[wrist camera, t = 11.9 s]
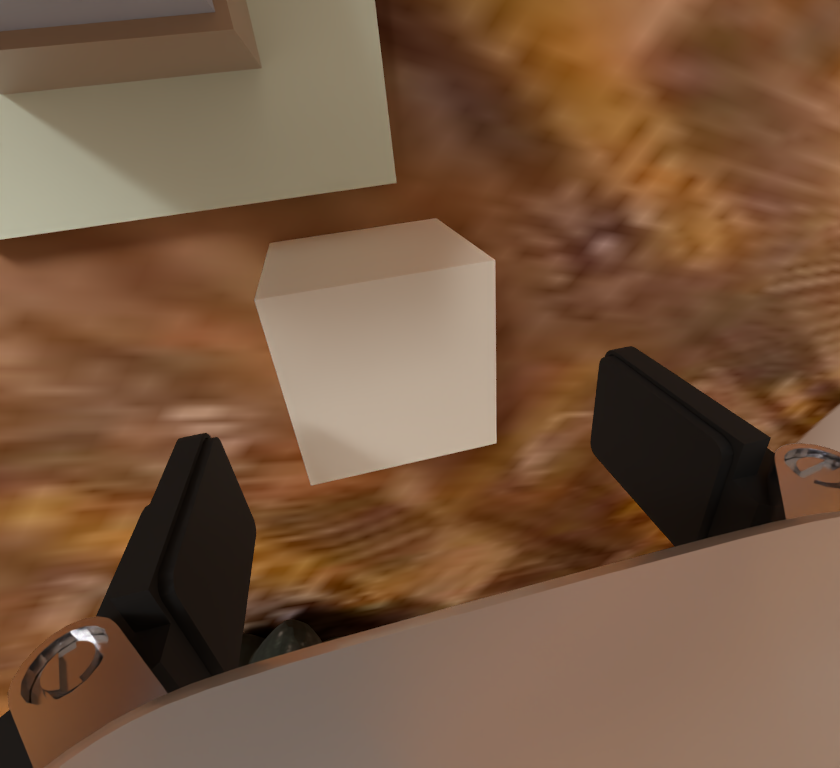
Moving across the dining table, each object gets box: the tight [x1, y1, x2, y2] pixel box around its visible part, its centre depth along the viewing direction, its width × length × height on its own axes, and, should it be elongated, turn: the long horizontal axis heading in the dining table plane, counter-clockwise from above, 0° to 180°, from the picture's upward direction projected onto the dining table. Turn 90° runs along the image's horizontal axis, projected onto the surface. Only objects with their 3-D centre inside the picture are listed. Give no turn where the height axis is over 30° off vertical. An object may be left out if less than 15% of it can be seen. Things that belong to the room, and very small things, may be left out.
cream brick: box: [254, 218, 497, 485], centre depth 15 cm, size 6×6×6 cm
